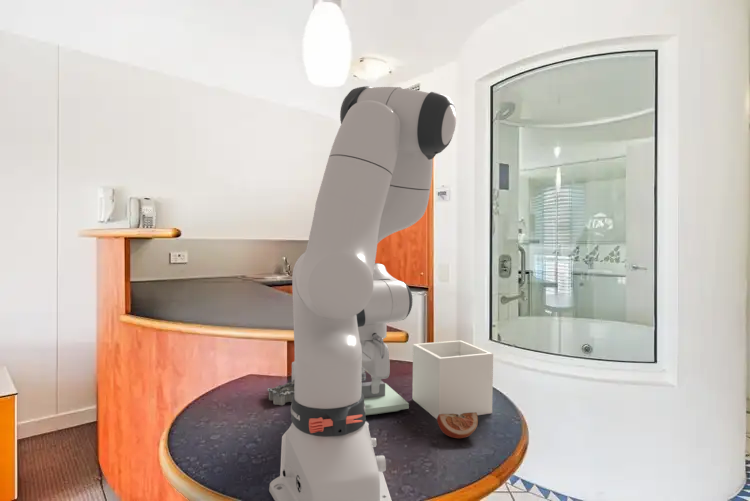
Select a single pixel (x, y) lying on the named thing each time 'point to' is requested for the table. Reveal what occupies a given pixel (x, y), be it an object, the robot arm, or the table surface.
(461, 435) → the fruit slice
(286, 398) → the egg carton
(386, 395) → the lid
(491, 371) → the box
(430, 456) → the table surface
